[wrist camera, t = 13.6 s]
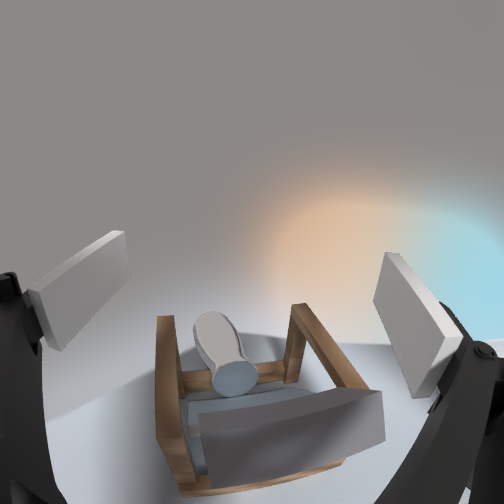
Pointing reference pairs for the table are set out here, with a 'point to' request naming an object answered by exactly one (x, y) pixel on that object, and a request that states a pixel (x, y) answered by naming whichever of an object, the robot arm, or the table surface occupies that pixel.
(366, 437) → the trapdoor
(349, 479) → the table surface
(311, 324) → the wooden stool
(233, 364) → the beer glass
